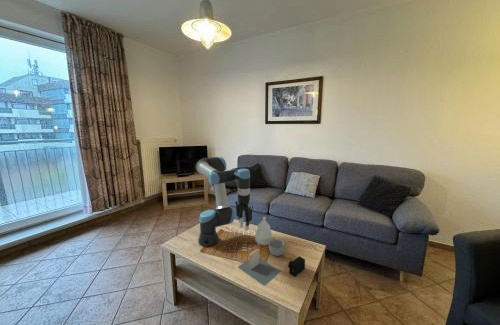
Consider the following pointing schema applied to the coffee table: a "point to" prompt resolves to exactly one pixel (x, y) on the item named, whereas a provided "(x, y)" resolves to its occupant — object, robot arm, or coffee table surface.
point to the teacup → (276, 247)
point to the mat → (260, 271)
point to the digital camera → (296, 266)
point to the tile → (254, 259)
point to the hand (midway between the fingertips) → (244, 228)
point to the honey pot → (263, 233)
